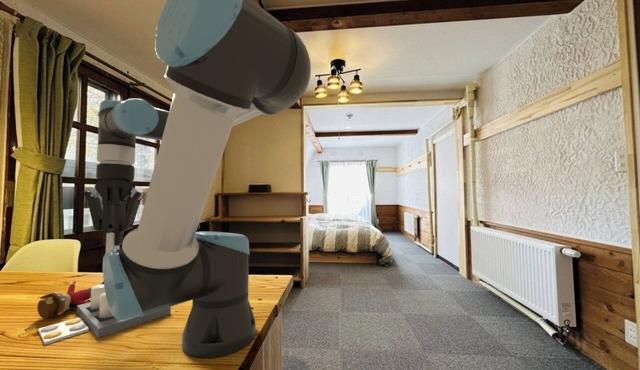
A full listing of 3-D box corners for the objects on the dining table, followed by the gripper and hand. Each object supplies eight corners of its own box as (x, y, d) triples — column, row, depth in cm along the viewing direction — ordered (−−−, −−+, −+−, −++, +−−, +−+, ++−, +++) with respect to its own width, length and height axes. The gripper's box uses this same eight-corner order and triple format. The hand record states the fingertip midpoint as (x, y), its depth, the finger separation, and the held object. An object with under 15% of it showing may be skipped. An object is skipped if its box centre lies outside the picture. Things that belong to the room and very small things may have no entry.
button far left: (112, 305, 69) (113, 286, 69) (92, 310, 65) (93, 290, 66) (107, 301, 71) (108, 282, 71) (88, 306, 68) (89, 286, 68)
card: (88, 331, 60) (88, 327, 60) (44, 344, 54) (44, 341, 54) (79, 319, 65) (79, 316, 65) (38, 331, 60) (38, 327, 60)
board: (170, 313, 69) (170, 306, 69) (98, 338, 57) (98, 328, 57) (141, 296, 81) (141, 289, 81) (76, 313, 69) (77, 305, 69)
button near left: (122, 313, 64) (123, 292, 64) (101, 319, 61) (102, 297, 61) (117, 309, 66) (118, 289, 66) (97, 314, 63) (98, 293, 63)
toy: (121, 289, 77) (59, 314, 63) (113, 307, 78) (50, 335, 64) (98, 266, 80) (33, 285, 65) (89, 284, 81) (24, 306, 66)
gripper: (151, 166, 70) (148, 254, 69) (98, 165, 68) (94, 256, 67) (136, 162, 62) (132, 262, 61) (75, 161, 61) (70, 263, 60)
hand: (112, 258), depth 64 cm, fingers closed
